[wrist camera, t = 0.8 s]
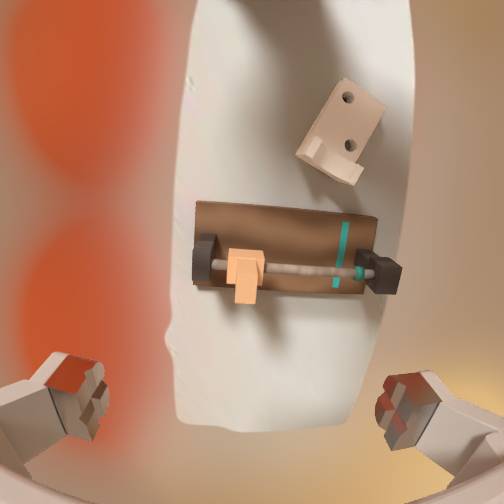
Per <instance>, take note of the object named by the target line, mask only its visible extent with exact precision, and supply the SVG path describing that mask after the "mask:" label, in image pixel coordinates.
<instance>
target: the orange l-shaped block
mask: <svg viewBox="0 0 504 504" xmlns="http://www.w3.org/2000/svg"><path fill="white" fill-rule="evenodd" d="M264 261H265V258H264V254H263V251H261V250H247V249H233V248H229V254H228V267H227V283H226V284H235V303H243V304H255V301H256V291H257V286H262V281H263V271H264Z"/></svg>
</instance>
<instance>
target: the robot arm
mask: <svg viewBox="0 0 504 504" xmlns="http://www.w3.org/2000/svg"><path fill="white" fill-rule="evenodd" d="M104 374H105V372H104V368H103V364H102V363H101V362H99V361H95V360H90V359H86V358H82V357H78V356H74V355H68V354H65V353H61V352H53V353H52V354H51V355H50V357H49V358H48V359H47V360H46V361H45V363H43V365H42V366H41V367H40V368H39V369H38V370H37V372H36V373H35V374H34V375H33V376H32V377H31V379H30V380H29V381H28V380H22V381H19V382H17V383H14V384H11V385H8V386H5V387H3V388H0V504H96V503H93V502H89V501H86V500H83V499H80V498H77V497H74V496H72V495H69V494H66V493H63V492H61V491H58V490H56V489H53V488H51V487H48V486H46V485H43V484H41V483H39V482H37V481H34V480H33V479H32V476H31V475H30V473H29V472H28V470H27V469H26V468H25V466H24V464H25V463H26V462H28V461H29V460H31V459H33V458H34V457H36V456H37V455H39V454H40V453H42V452H43V451H45V450H46V449H48V448H49V447H51V446H52V445H54V444H55V443H57V442H58V441H60V440H61V439H63V438H64V437H66V435H69V436H73V437H77V438H80V439H84V440H88V441H93V439H94V437H95V435H96V432H97V430H98V428H99V422H98V419H99V418H101V417H103V416H104V415H105V413H106V411H107V409H108V404H109V391H108V386H107V385H106V383H105V382H104V381H103V380H102V378H103V376H104ZM383 388H384V391H385V392H384V393H383V394H382V395H381V396H380V397H378V400H377V403H376V405H375V417H376V421H377V423H378V425H379V426H380V427H382V428H383V429H385V430H386V432H385V434H384V437H385V439H386V441H387V443H388V445H389V447H390V449H391V451H394V450H399V449H404V448H409V447H414V446H415V448H416V449H417V450H419V451H420V452H421V453H423V454H424V455H425V456H427V457H428V458H429V459H431V460H432V461H434V462H435V463H436V464H438V465H439V466H441V467H442V468H443V469H445V470H446V471H448V472H449V473H450V474H452V475H453V476H455V478H454V479H453V480H452V481H451V482H450V484H449V485H448V486H447V488H446V490H443V491H441V492H438V493H435V494H433V495H430V496H427V497H424V498H421V499H418V500H415V501H412V502H409V503H406V504H504V417H502V416H500V415H497V414H495V413H493V412H490V411H488V410H486V409H483V408H481V407H479V406H476V405H474V404H472V403H470V402H468V401H465V400H463V399H461V398H457V399H456V398H455V397H454V396H453V394H452V393H451V392H450V391H449V390H448V389H447V387H446V386H445V385H444V384H443V383H442V381H441V380H440V379H439V378H438V377H437V376H436V374H435V373H434V372H433V371H430V370H425V371H419V372H416V373H408V374H399V375H390V376H388V377H387V378H386V380H385V382H384V384H383Z"/></svg>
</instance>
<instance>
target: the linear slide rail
mask: <svg viewBox="0 0 504 504" xmlns="http://www.w3.org/2000/svg"><path fill="white" fill-rule="evenodd" d="M377 221H378V219H377V218H375V217H371V216H363V215H355V214H346V213H337V212H328V211H319V210H309V209H299V208H288V207H277V206H266V205H253V204H240V203H227V202H212V201H197V202H196V212H195V235H194V249H193V256H192V281H193V285H202V286H215V287H229V288H235V284H226V283H227V267H228V254H229V248H233V249H247V250H261V251H263V254H264V258H265V261H264V271H263V281H262V286H257V289H259V290H276V291H295V292H315V293H339V294H364V289H365V285H366V284H367V285H368V286H369V287H370V289H371V290H372V291H373V292H374V293H375V294H394V295H395V294H396V292H397V288H398V284H399V280H400V276H401V272H402V267H401V266H400V265H398V264H397V263H396V262H394V261H393V260H391V259H390V258H388V257H379V256H378V255H377V254H375V253H374V252H373V251H372V250H373V245H374V239H375V233H376V227H377Z"/></svg>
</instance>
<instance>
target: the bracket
mask: <svg viewBox="0 0 504 504" xmlns="http://www.w3.org/2000/svg"><path fill="white" fill-rule="evenodd" d="M342 96H343V97H345V98H346V100H347V103H346V102H345V101H344V100H343V98H342ZM385 109H386V106H385V105H384V104H382V103H381V102H380V101H378V100H377V99H376V98H374V97H373V96H372V95H370V94H369V93H367V92H366V91H365V90H363V89H362V88H360V87H359V86H358V85H356V84H355V83H353V82H352V81H350V80H349V79H347V78H346V77H345V78H343V79H342V80H341V81H339V82H338V83H337V85H336V87H335V88H334V90H333V92H332V93H331V95H330V96H329V98H328V100H327V101H326V103H325V105H324V106H323V108H322V110H321V111H320V113H319V115H318V116H317V118H316V120H315V121H314V123H313V125H312V126H311V128H310V130H309V131H308V133H307V135H306V136H305V138H304V140H303V142H302V143H301V145H300V147H299V148H298V150H297V152H296V153H295V156H297V157H298V158H300V159H301V160H303V161H305V162H306V163H308V164H310V165H311V166H313V167H314V168H317V169H318V170H320V171H322V172H323V173H325V174H326V175H328V176H329V177H331V178H332V179H334V180H336V181H337V182H340V183H344V184H348V185H352V186H354V185H355V184H356V182H357V180H358V178H359V177H360V175H361V173H362V171H363V170H364V168H363V167H362V166H360V165H359V164H356V161H357V159H358V158H359V156H360V154H361V152H362V151H363V149H364V147H365V145H366V144H367V142H368V140H369V138H370V136H371V135H372V133H373V131H374V129H375V127H376V126H377V124H378V122H379V120H380V118H381V117H382V115H383V113H384V111H385ZM346 140H347V141H348V142H349V143H350V150H349V151H347V150H346V148H345V142H346Z"/></svg>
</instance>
